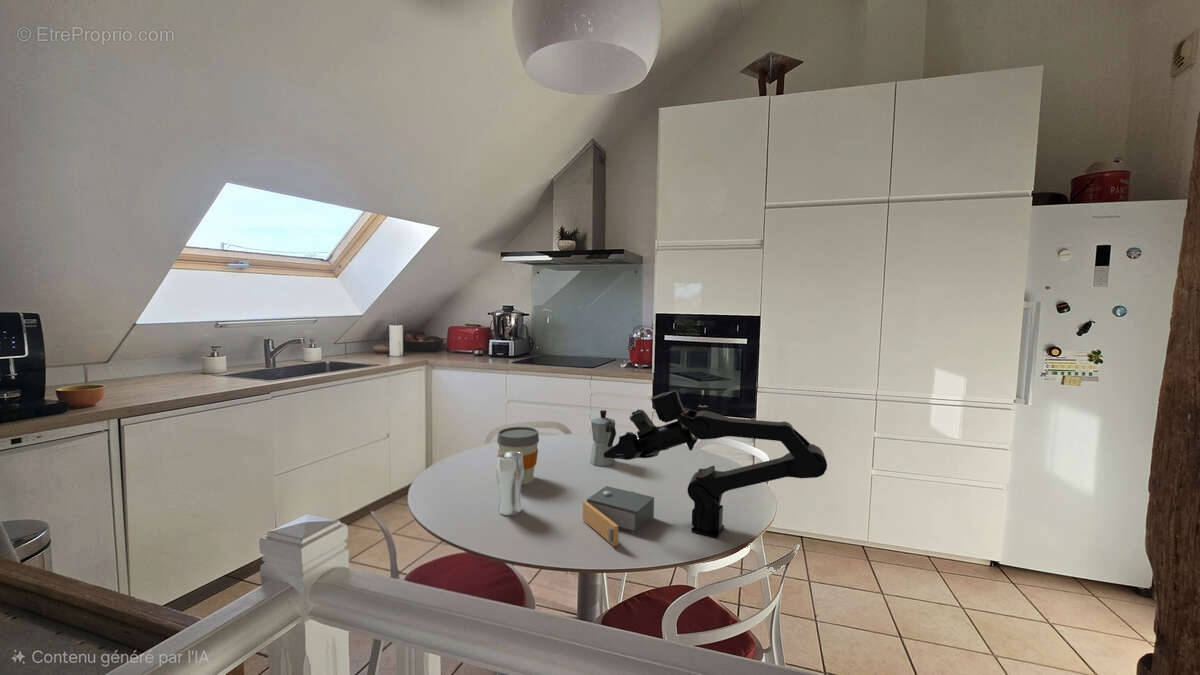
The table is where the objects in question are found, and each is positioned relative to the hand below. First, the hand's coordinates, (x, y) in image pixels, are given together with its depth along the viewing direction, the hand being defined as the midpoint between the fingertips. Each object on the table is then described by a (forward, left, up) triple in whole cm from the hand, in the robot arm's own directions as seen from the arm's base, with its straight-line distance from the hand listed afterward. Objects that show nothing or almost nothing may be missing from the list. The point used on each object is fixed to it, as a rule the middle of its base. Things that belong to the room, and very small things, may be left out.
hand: (611, 454), depth 127 cm
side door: (-3, +11, -15) cm, 19 cm away
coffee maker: (+20, -33, -16) cm, 42 cm away
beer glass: (+23, +12, -16) cm, 31 cm away
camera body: (-4, +1, -16) cm, 16 cm away
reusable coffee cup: (+35, -6, -16) cm, 39 cm away
